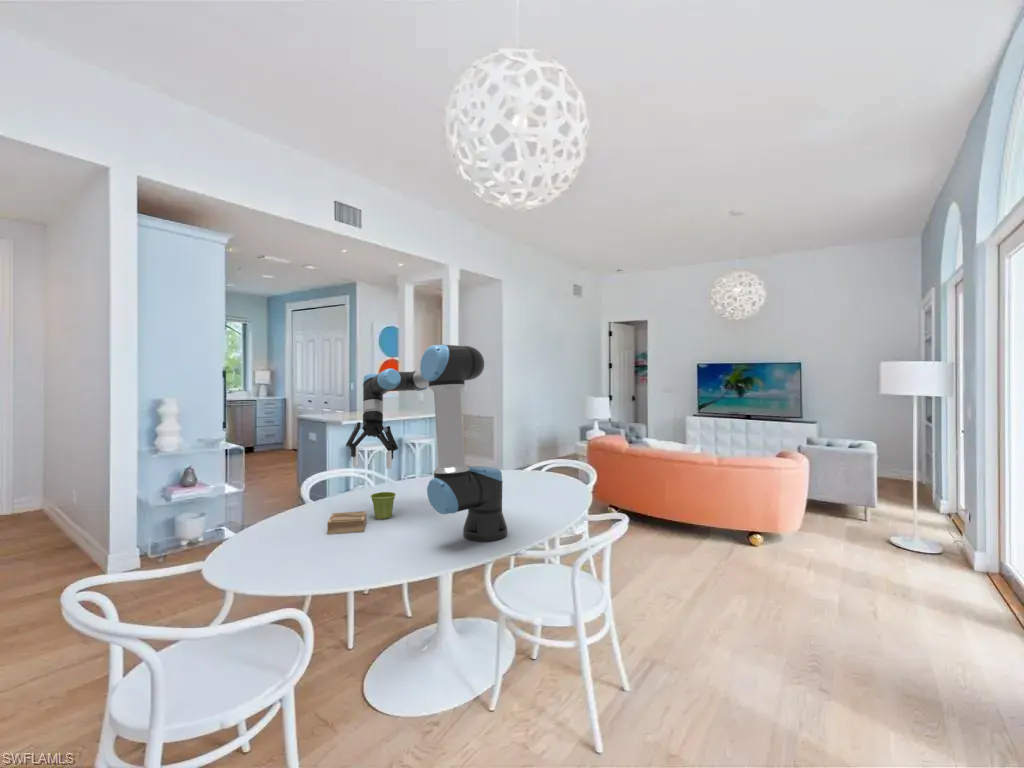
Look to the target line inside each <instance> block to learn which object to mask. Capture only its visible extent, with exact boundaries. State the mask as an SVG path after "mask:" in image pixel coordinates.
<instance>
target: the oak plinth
mask: <svg viewBox="0 0 1024 768" xmlns="http://www.w3.org/2000/svg"><path fill="white" fill-rule="evenodd" d="M366 524H367V510H365V511H364V510H363V511H347V512H346V511H345V512H332V513H331V514H330V517H329V518H328V521H327V524H326V525H327V535H334V534H333V533H340V534H349V533H348V532H355V533H364V532H365V529H366ZM363 531H364V532H363Z"/></svg>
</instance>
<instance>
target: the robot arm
mask: <svg viewBox="0 0 1024 768" xmlns="http://www.w3.org/2000/svg"><path fill="white" fill-rule="evenodd" d="M484 369H485V359H484V356H483V355H482V353H481V352H480V350H479V349H477V348H475V347H473V346H469V345H453V344H452V345H451V344H434V345H430V346H428V347H427V348H426V350H425V351H424V353H422V356H421V359H420V365H419V369H417V370H414V371H398V370H396V369H394V368H386V369H383V370H382V371H381V372H379V373H369V374H368V373H367V374H366V375H364V377H363V382H362V400H363V403H362V413H363V414H362V423H361V422H360V421H359V422H358V421H357V422H356V423H355V424H354V429H353V431H352V432H351V435H350V436H349V437H348V439H347V441H346V443H345V446H346V447H347V448H349V449H350V457H351V458H352V467H357V466H358V465H359V447H358V445H359V444H360V443H361V442H362V441H363V440H364V439H365V437H366V436H367V437H373V438H376V437H377V439H379V440H380V442H381V443H382V445H383V447H385V449H386V450H387V451H386V452H385V453H386V456H385V458H386V460H385V461H386V462H385V463H386V467H385V468H386V469H387V470H389V469H391V468H392V467H393V466H392V463H393V462H392V461H393V460H394V451H396V450H397V451H398V449H399V447H398V444H397V442H396V440H395V438H394V436H393V433H392V431H391V426H390V425H388V426H384V425H383V422H384V414H383V413H384V403H383V402H384V395H385V394H386V393H388V392H406V391H408V392H409V391H410V392H411V391H418V392H419V391H420V392H421V391H425V390H427V389H428V388H429V389H430V390H431V391H432V392H433V396H434V415H435V434H436V451H437V452H436V453H437V454H436V455H437V467H436V468H435V469H434V470H433V478H432V479H430V480H429V482H428V484H427V488H426V493H427V498H428V502H429V503H430V505H431V506H432V508H433V510H434V511H436V512H437V513H438V514H441V515H449V514H456V513H459V512H462V511H466V510H467V511H468V512H467V516H466V518H465V522H464V525H463V528H462V529H463V530H462V536H463V537H464V538H465V539H467V540H470V541H474V542H494V541H499V540H502V539H504V538H506V537H508V525H507V523H506V520H505V516H504V514H503V513H504V512H503V482H504V481H503V475H502V471H501V470H500V469H498V468H497V467H496V468H495V467H489V466H480V465H479V466H475V465H473V466H467V464H466V463H465V462H466V461H465V447H464V446H465V445H464V429H463V412H462V409H463V408H462V396H461V395H462V393H461V391H462V389H464V387H465V386H466V384H465V381H472V380H475V379H477V378H478V377H480V376H481V374H482V373H483V371H484ZM361 429H362V433H361V434H360V435H359V436H358V437H357V435H358V434H359V431H360V430H361ZM356 437H357V438H356ZM355 439H356V440H355Z"/></svg>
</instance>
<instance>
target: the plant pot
mask: <svg viewBox="0 0 1024 768" xmlns="http://www.w3.org/2000/svg"><path fill="white" fill-rule="evenodd" d="M396 494H397V493H395V492H391V491H382V492H380V491H379V492H376V493H375V492H374V493H372V494H370V498H371V501H372V505H373V511H374V517H375V518H376V520H385V519H390V518H391V517H392V516H393V509H394V508H393V507H394V501H395V497H396V496H397V495H396Z"/></svg>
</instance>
